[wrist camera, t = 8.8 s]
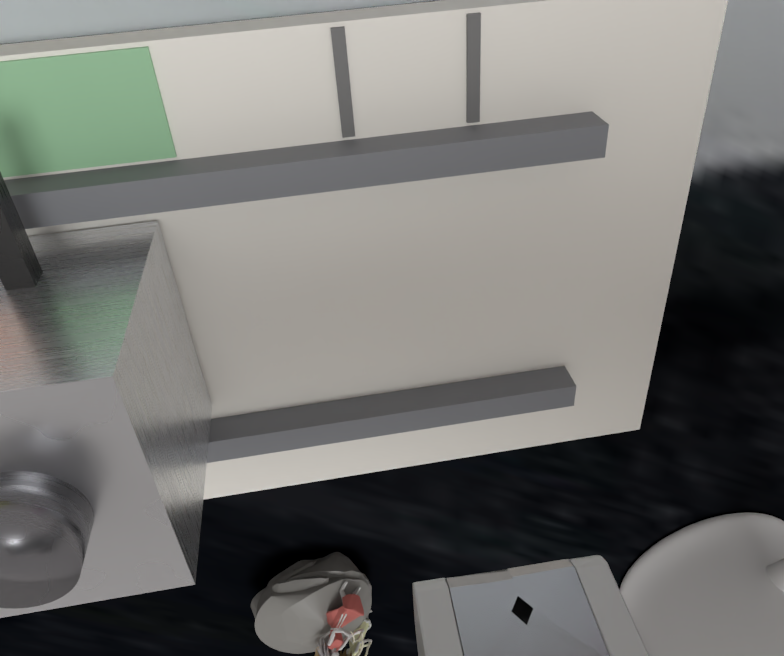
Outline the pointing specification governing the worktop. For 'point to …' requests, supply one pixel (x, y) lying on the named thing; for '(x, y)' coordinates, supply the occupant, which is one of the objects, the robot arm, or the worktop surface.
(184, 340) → the metal box with knob
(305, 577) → the figurine
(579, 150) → the gauge board
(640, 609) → the mug
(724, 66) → the worktop surface
